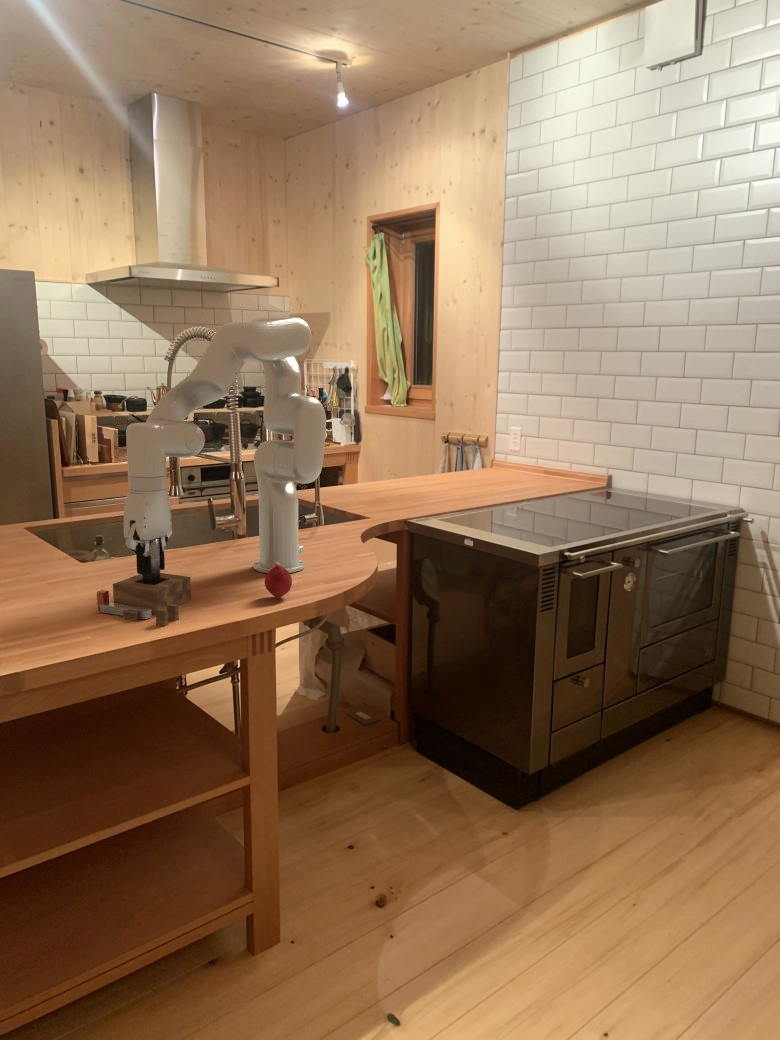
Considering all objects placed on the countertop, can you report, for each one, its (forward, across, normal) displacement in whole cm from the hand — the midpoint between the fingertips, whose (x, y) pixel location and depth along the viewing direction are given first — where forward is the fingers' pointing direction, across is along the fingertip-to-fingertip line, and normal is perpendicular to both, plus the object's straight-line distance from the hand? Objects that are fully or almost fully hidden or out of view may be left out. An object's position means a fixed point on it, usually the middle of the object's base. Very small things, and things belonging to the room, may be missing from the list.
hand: (151, 570), depth 160 cm
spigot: (+3, 0, 0) cm, 3 cm away
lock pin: (+7, +8, 0) cm, 11 cm away
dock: (+7, +2, +3) cm, 8 cm away
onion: (+7, -14, +22) cm, 27 cm away
